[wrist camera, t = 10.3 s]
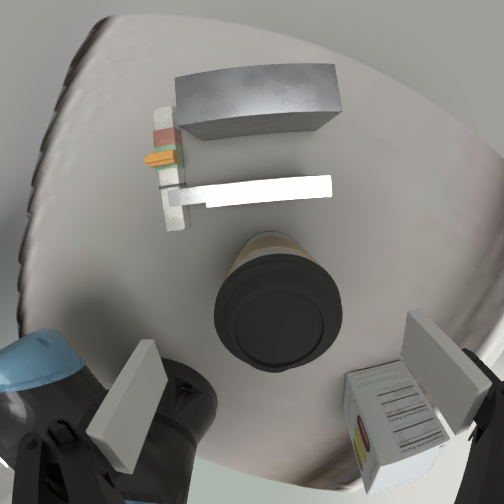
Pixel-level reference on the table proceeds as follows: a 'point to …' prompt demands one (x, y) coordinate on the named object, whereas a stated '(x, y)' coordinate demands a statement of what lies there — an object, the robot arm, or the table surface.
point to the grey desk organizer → (241, 112)
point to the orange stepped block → (163, 158)
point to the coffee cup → (277, 305)
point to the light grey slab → (253, 191)
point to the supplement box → (391, 426)
